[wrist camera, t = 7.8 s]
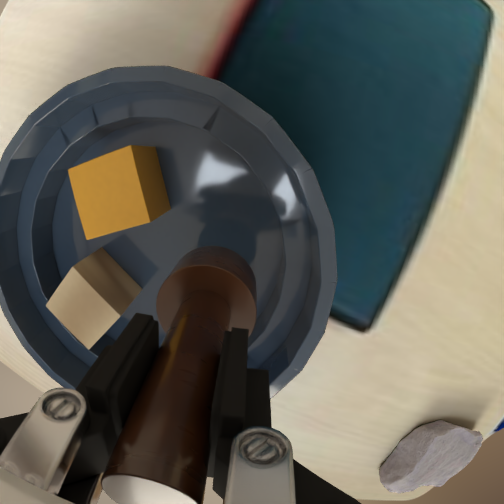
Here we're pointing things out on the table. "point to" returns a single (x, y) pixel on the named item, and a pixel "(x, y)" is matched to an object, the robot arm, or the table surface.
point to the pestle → (182, 381)
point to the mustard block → (119, 190)
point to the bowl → (173, 221)
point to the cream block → (93, 297)
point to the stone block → (429, 456)
